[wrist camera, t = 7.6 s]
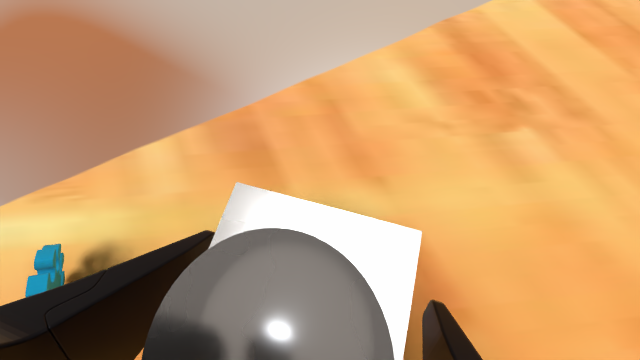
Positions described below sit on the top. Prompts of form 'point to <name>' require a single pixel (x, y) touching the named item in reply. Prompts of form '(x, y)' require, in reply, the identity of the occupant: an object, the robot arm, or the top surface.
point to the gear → (46, 270)
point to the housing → (290, 286)
